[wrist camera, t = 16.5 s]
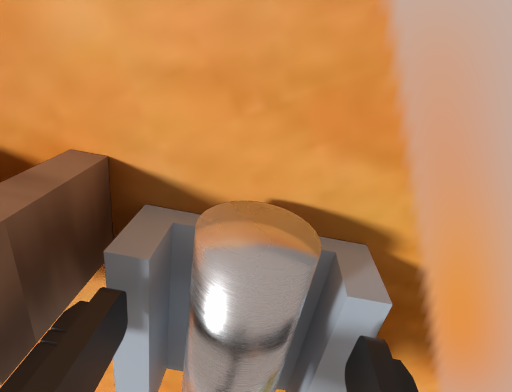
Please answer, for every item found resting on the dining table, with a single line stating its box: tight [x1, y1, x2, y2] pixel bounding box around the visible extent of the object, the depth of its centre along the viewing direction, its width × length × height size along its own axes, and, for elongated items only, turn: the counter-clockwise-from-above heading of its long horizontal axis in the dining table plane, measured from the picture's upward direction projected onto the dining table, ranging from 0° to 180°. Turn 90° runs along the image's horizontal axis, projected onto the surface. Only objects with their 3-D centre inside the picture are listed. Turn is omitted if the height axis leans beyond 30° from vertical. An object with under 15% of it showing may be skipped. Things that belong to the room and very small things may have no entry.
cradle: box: [104, 204, 393, 392], centre depth 14 cm, size 10×10×4 cm
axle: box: [182, 201, 321, 392], centre depth 13 cm, size 12×4×4 cm, turn 171°
